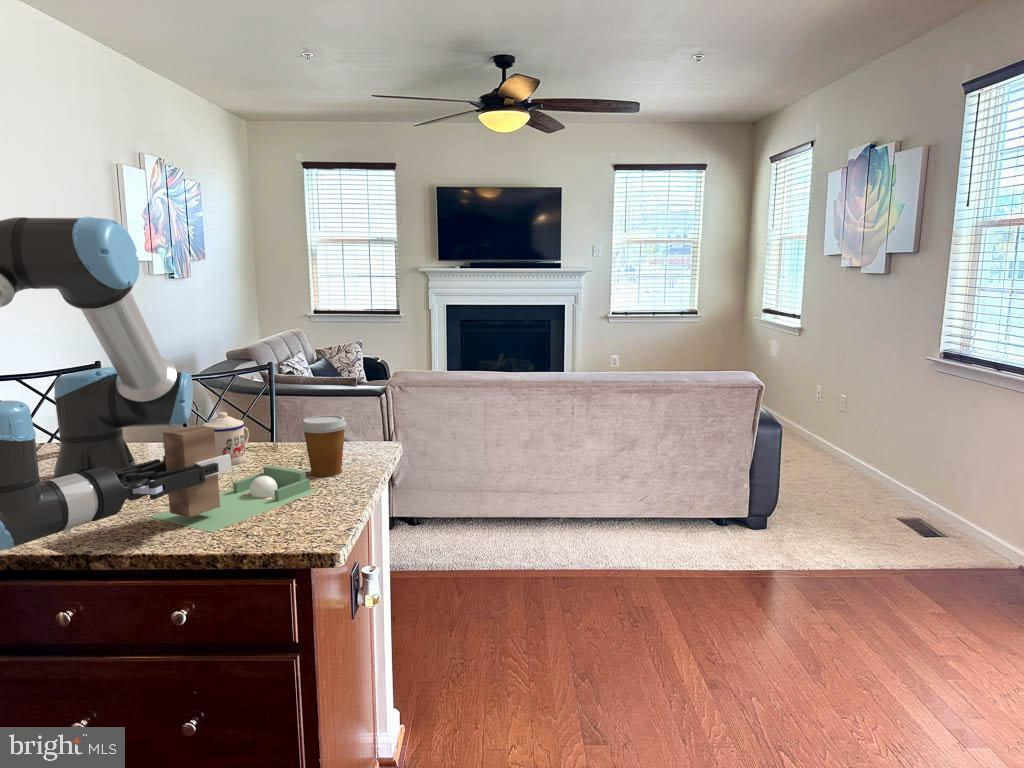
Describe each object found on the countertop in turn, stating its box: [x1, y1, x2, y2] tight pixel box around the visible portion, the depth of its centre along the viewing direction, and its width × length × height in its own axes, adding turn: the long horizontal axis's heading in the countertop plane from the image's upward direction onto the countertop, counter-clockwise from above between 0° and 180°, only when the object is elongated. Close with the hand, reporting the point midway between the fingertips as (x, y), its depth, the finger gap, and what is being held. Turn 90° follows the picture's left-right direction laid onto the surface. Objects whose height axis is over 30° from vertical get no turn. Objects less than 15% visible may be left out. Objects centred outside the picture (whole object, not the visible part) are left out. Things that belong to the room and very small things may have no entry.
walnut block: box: [162, 424, 220, 517], centre depth 115 cm, size 5×6×14 cm
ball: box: [249, 476, 279, 499], centre depth 129 cm, size 5×5×5 cm
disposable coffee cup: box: [300, 414, 347, 477], centre depth 147 cm, size 10×10×12 cm
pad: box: [149, 465, 318, 533], centre depth 124 cm, size 16×24×5 cm, turn 152°
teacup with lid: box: [202, 411, 250, 466], centre depth 159 cm, size 12×9×12 cm
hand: (218, 460), depth 120 cm, fingers closed on walnut block, 5 cm apart
